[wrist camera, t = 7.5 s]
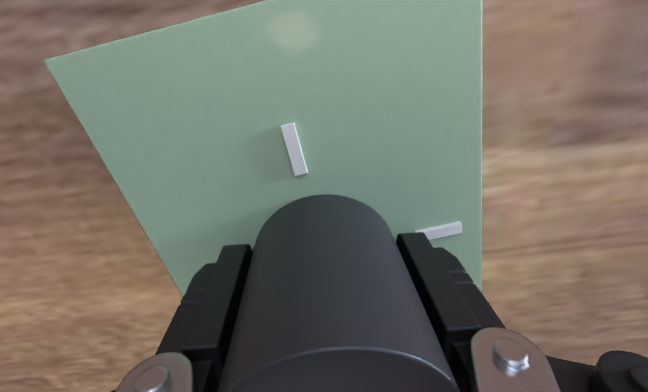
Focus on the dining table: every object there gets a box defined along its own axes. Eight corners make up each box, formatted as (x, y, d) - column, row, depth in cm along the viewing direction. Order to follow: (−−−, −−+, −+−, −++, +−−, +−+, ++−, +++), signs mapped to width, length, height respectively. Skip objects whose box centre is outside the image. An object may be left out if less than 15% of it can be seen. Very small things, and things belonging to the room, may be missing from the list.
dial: (268, 313, 11) (239, 524, 6) (240, 203, 9) (163, 389, 4) (394, 298, 11) (461, 499, 6) (393, 185, 9) (492, 351, 4)
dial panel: (114, 54, 10) (36, 60, 7) (432, -31, 9) (487, -62, 6) (257, 345, 16) (246, 411, 13) (451, 306, 15) (483, 366, 13)
